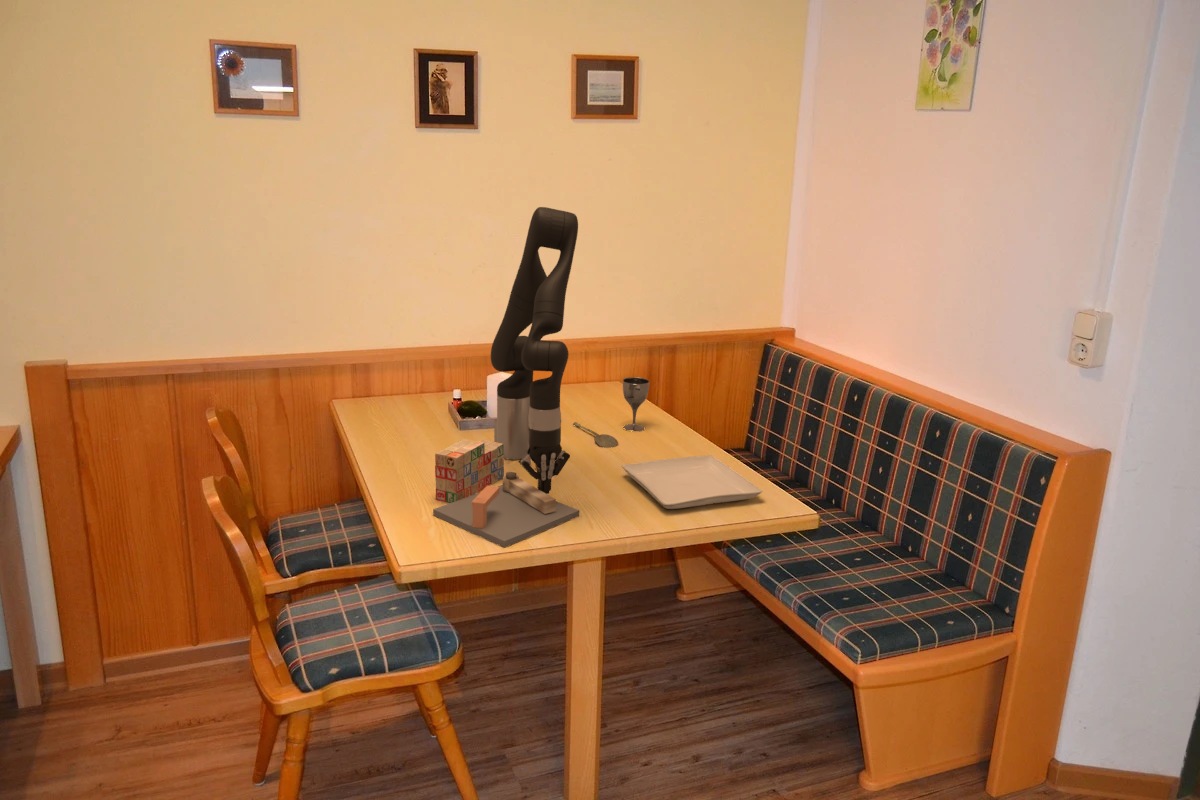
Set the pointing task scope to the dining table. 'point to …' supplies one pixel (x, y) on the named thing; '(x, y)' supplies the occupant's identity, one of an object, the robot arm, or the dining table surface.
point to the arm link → (528, 493)
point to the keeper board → (502, 516)
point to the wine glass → (635, 397)
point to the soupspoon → (601, 438)
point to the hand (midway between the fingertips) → (544, 492)
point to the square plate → (691, 481)
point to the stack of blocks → (467, 468)
